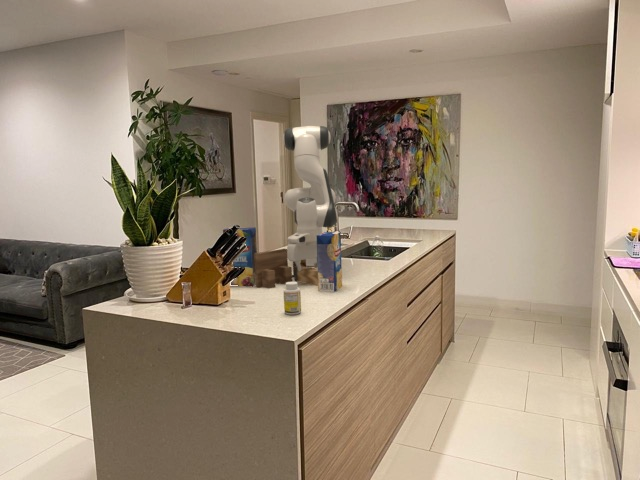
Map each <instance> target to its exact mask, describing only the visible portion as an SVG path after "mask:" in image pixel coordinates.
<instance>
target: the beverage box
mask: <svg viewBox="0 0 640 480" xmlns="http://www.w3.org/2000/svg"><path fill="white" fill-rule="evenodd" d="M341 235H342V234H341V232H340V231H324V232H323V231H322V233H321V234H319V235H316V236H317V264H318V268H317V269H318V285H317V286H318V290H317V291H318V292H330V293H331V292H333V293H335V292H337V291H338V290H339V289H341V287H342V286H343V274H342V241H341V240H342V238H341Z"/></svg>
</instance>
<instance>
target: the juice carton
mask: <svg viewBox="0 0 640 480" xmlns="http://www.w3.org/2000/svg"><path fill="white" fill-rule="evenodd" d="M231 228H232V227H227V228H225V229H222V235H223V234H224V233H225V232H226V231H227V230H229V229H231ZM238 228H239V229H238V231H237V235H238V236H240V237H246V238H247V240H246V242H245V244H246V246H247V248H246V249H245V250H244V251H243V252H242V253H241V254H240V255H239V256H238V257H237V258H236V259H235V260H234V261H233V266H234V267H245V270H244V272H243V273H242V274H241V275H239V276H238V277H237V278H236V279H234V280H233V281H232V282H231V285H238V286H252V287H253V288H254V287H256V285H255V266H254V253H258V251H257V250H258V248H257V228H256V227H255V226H254V227H250V226H249V227H238Z"/></svg>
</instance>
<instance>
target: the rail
mask: <svg viewBox="0 0 640 480" xmlns="http://www.w3.org/2000/svg"><path fill="white" fill-rule="evenodd" d="M301 266H302V265H301ZM294 282H297V283H304V284H309V285H313V286H318V268H315V267H312V266H306V267H305V266H303V271H298V267H297V266H295V267H294Z"/></svg>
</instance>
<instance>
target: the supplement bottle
mask: <svg viewBox="0 0 640 480" xmlns="http://www.w3.org/2000/svg"><path fill="white" fill-rule="evenodd" d="M298 283H299V282H298V281H292V282H287V283H286V284H285V288H284V289H283V304H284V306H283V307H284V314H286V315H290V316H295V315H298V314H301V312H302V299H301V298H302V297H301V289H300V287H298Z"/></svg>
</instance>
